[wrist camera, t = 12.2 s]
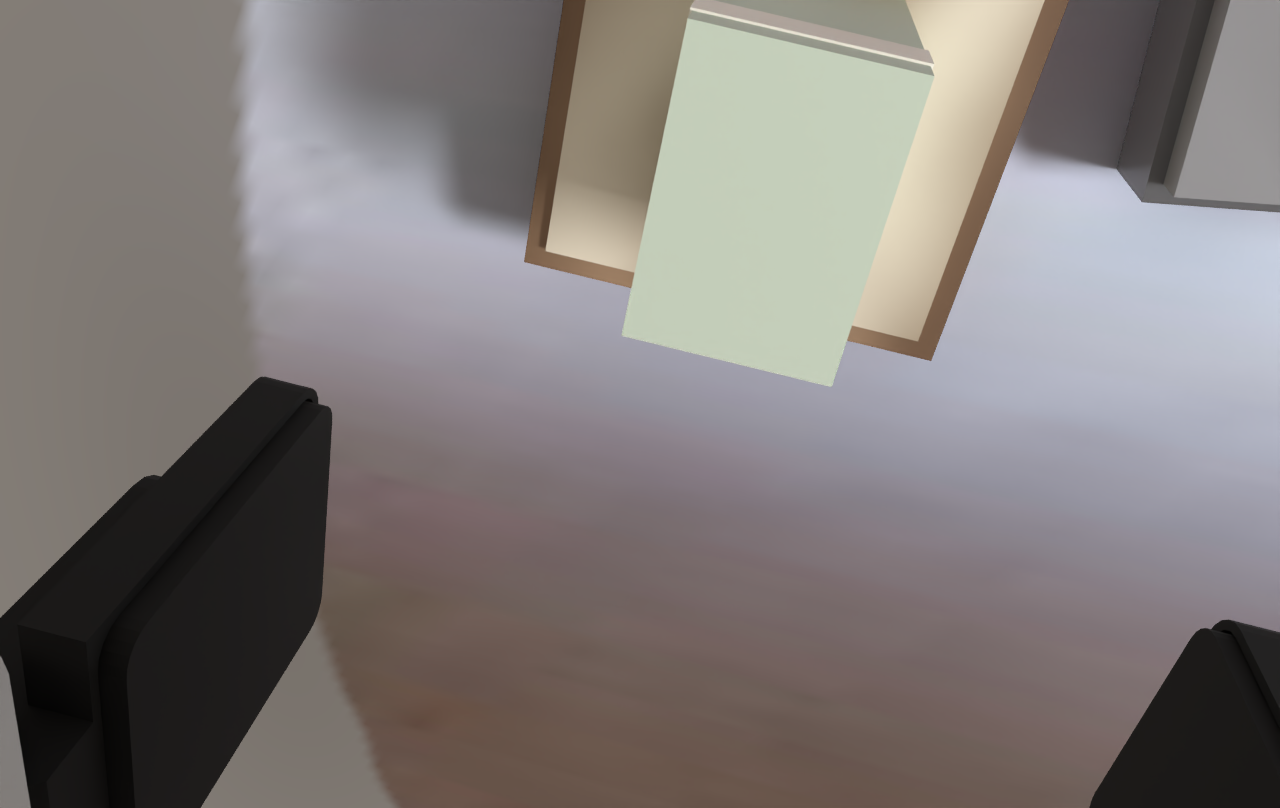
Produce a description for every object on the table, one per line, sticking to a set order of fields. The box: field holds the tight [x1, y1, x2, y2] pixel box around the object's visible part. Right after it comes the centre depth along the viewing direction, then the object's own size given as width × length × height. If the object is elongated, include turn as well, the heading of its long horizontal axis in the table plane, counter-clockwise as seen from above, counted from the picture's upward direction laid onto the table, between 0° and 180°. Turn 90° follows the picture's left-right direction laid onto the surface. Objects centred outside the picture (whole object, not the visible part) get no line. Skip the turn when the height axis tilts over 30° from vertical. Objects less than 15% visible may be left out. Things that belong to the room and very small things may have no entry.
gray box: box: [1117, 0, 1280, 212], centre depth 27 cm, size 4×7×4 cm, turn 179°
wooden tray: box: [524, 0, 1069, 361], centre depth 29 cm, size 12×12×3 cm
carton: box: [622, 0, 935, 387], centre depth 24 cm, size 5×7×8 cm
